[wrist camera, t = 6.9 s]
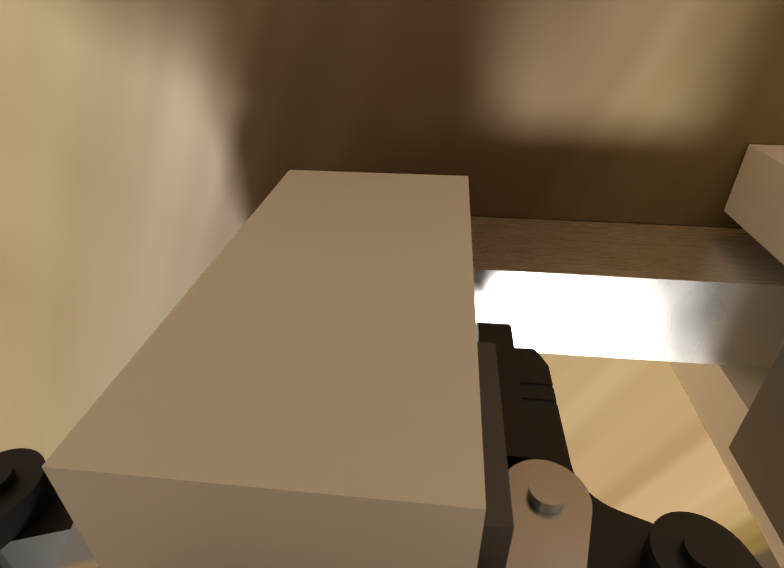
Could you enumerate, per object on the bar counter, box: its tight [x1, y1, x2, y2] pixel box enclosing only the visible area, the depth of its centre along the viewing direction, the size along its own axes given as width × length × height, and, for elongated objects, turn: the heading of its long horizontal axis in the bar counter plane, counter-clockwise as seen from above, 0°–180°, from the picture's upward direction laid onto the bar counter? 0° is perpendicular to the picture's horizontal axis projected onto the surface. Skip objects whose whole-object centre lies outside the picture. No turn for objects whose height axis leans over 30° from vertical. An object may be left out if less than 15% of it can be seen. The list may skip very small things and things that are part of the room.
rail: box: [470, 216, 784, 368], centre depth 14 cm, size 2×17×3 cm, turn 90°
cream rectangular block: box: [42, 170, 514, 568], centre depth 10 cm, size 7×4×8 cm, turn 0°
